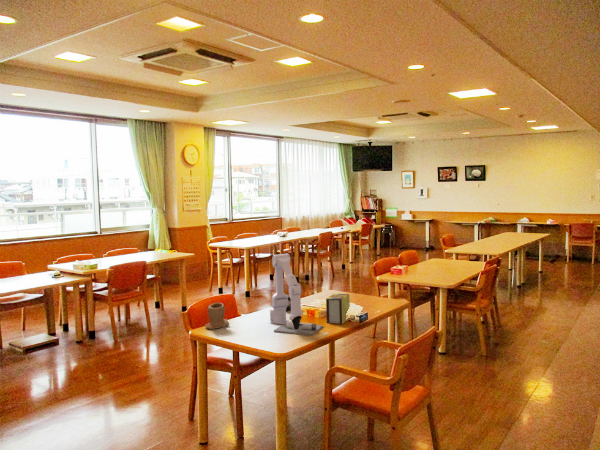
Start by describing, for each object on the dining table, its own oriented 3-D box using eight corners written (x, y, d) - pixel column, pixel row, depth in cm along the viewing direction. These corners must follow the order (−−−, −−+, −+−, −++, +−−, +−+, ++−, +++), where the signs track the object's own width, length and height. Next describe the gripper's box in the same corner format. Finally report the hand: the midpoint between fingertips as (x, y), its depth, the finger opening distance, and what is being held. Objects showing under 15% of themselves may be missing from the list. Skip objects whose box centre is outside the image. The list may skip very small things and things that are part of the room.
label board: (273, 332, 294) (273, 330, 294) (286, 323, 310) (286, 322, 310) (312, 335, 284) (311, 333, 284) (322, 327, 301) (322, 325, 301)
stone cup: (212, 331, 298) (211, 307, 297) (202, 327, 307) (201, 303, 306) (234, 326, 307) (233, 302, 306) (224, 323, 317) (223, 299, 315)
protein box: (350, 318, 320) (349, 294, 318) (342, 324, 306) (341, 299, 304) (334, 316, 324) (334, 293, 323) (326, 323, 310) (325, 298, 309)
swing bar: (317, 328, 293) (316, 323, 293) (315, 330, 290) (315, 325, 290) (288, 326, 300) (288, 321, 300) (286, 327, 298) (285, 322, 297)
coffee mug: (280, 312, 340) (280, 297, 339) (279, 309, 348) (278, 294, 347) (297, 311, 341) (297, 296, 340) (296, 308, 350) (295, 293, 349)
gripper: (297, 309, 282) (297, 332, 283) (306, 303, 296) (307, 326, 297) (285, 308, 285) (286, 331, 286) (295, 302, 298) (296, 325, 300)
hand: (296, 328), depth 292 cm, fingers closed
